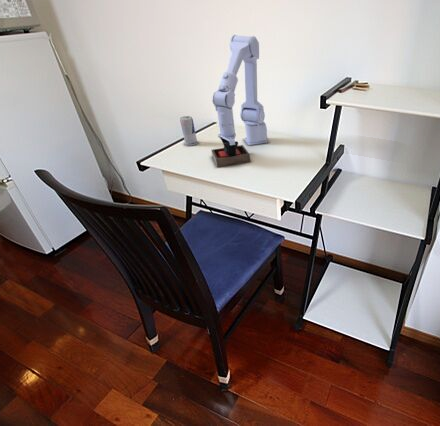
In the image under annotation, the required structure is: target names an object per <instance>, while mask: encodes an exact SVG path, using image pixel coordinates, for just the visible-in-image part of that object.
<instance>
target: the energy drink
mask: <svg viewBox="0 0 440 426" xmlns="http://www.w3.org/2000/svg"><path fill="white" fill-rule="evenodd" d="M179 122H180V127H181V131H182V136H183V140H184V144H185V146H188V147H189V146H190V147H191V146H195V145H197V144H198V139H197V134H196V128H195V123H194V119H193V117H192V116H191V115H185V116H181V117H180V119H179Z"/></svg>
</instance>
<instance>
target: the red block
mask: <svg viewBox="0 0 440 426" xmlns="http://www.w3.org/2000/svg"><path fill="white" fill-rule="evenodd" d="M223 148H224V151H219V152H218V153H219V157H220V158H223V157H229V155H228V152H227V149H226V147H224V146H223ZM236 155H241V153H240V152H239V151H238V149H236V153H235V156H236Z"/></svg>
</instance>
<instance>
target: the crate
mask: <svg viewBox="0 0 440 426" xmlns="http://www.w3.org/2000/svg"><path fill="white" fill-rule="evenodd" d="M236 149H238V151H239V152H240V153H241V155H236V156H229V157H223V158H220V157H219V153H218V152H219V151H224V147H220V148H213V149H211V156H212V159H213V161H214V163H215V166H216V167H217V168H221V167H227V166H233V165H234V166H235V165H239V164H245V163H246V164H247V163H250V162H251V157H250V153H249V151H248V149H246V147H245V145H243V144H241V145H237V148H236Z"/></svg>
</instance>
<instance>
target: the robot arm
mask: <svg viewBox="0 0 440 426" xmlns="http://www.w3.org/2000/svg"><path fill="white" fill-rule="evenodd" d="M229 40H230V42H229V49H230V52H231V53H230V58H229V62H228V66H227V71H225V72H223V74H222V76H221V80H220V83H219V86H218V88H217V90H216V91H215V92H214V93H213V95H212V104H213V106H214V107H215V111H216V112H217V120H218V125H219V134H217V137H218V138H219V139H220V140H221V142H222V144H223V148H224V147H226V149H227V152H228V155H229V156H235V153H236V148H237V146H239V142H238V141H236V135H237V133H236V128H235V120H234V110H233V107H234V105H235V102H236V98H235V96H236V93H235V91H236V88H237V84H238V82H239V79H238V76H237V75H238V72H239V70H240V67H241V65H242V63H244V85H245V87H244V88H245V89H244V90H245V101H244V102H243V103H242V104H241V105H240V112H239V113H240V114H239V115H240V119H241V121H242V122H243V124H244V125H245V126H244V127H245V138H244V141H245V142H246V144H247V145H248V146H252V145H253V146H254V145H260V144H266V143H269V141H268V129H267V128H268V127H267V123H266V122H265V117H266V116H265V115H266V113H265V110H264V105H263V103H260V101H258V60H259V59H260V42H259V40H258V38H257V37H256V36H254V35H252V36H250V35H249V36H248V35H237V34H233V35H231V38H230V39H229Z"/></svg>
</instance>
